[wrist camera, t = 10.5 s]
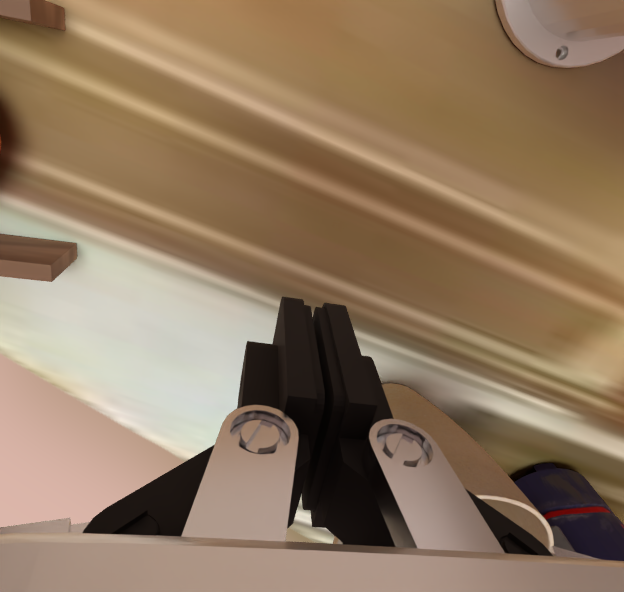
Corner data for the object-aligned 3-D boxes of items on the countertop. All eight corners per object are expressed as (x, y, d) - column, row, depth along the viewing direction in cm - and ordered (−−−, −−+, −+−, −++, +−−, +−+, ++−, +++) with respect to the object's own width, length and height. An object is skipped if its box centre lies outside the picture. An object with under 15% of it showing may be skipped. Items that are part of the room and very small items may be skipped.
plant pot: (289, 453, 44) (302, 628, 30) (346, 332, 39) (395, 475, 25) (417, 480, 48) (483, 647, 34) (486, 372, 42) (599, 518, 28)
